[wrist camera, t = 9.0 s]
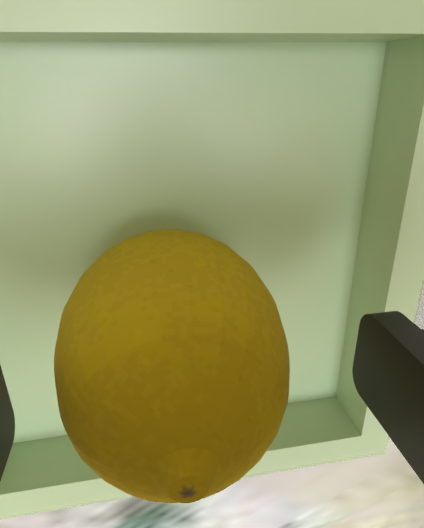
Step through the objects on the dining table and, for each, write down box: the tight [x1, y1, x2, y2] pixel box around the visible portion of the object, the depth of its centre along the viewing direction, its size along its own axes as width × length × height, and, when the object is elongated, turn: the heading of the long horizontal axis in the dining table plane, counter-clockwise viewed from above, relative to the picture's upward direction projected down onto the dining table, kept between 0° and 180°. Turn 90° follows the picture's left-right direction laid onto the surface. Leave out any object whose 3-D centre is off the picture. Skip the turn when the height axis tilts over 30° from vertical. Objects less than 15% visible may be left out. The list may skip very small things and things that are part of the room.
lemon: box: [54, 229, 290, 503], centre depth 10 cm, size 6×6×8 cm
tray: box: [0, 0, 424, 519], centre depth 13 cm, size 16×16×3 cm
